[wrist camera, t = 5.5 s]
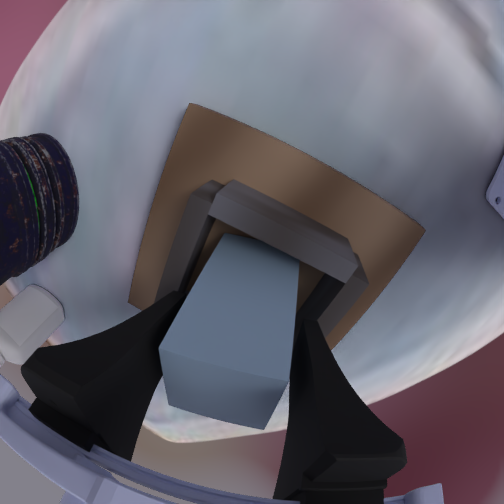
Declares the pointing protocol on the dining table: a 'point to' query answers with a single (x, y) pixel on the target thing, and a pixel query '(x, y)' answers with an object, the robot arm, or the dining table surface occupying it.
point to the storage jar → (34, 201)
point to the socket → (270, 221)
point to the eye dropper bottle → (28, 323)
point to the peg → (234, 334)
